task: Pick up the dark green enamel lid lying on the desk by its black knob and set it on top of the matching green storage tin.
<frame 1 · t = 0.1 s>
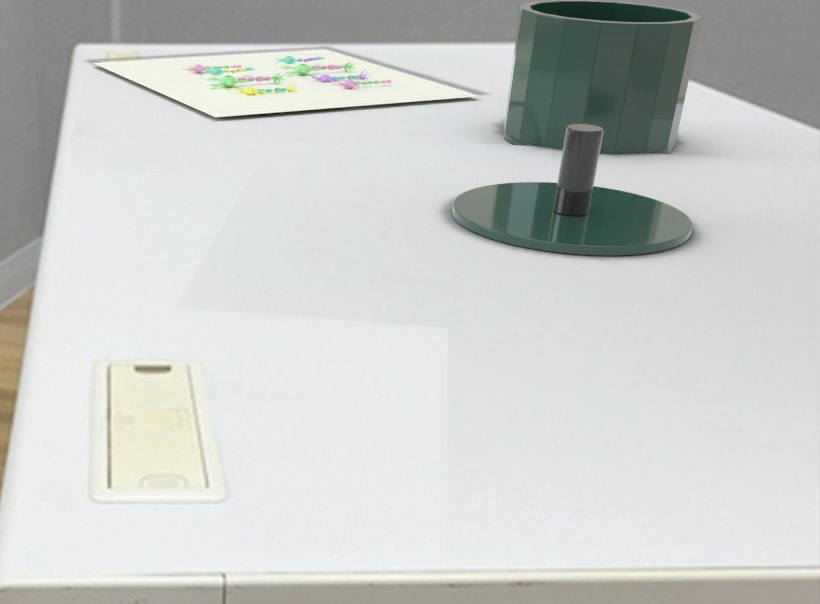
printed paper: (278, 84, 127), on the table
tin: (586, 141, 107), on the table
tin lid: (569, 220, 83), point 1 cm above the table
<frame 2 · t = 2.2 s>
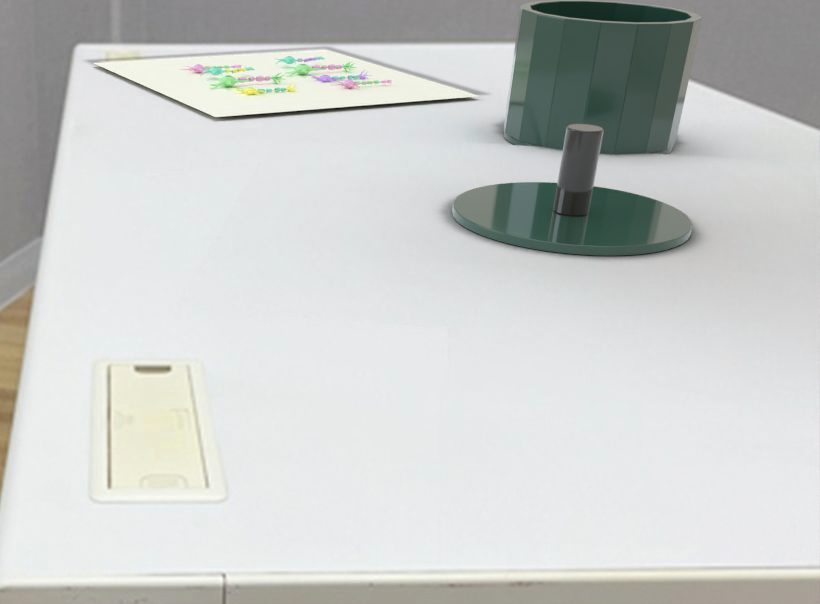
nothing on the table moved.
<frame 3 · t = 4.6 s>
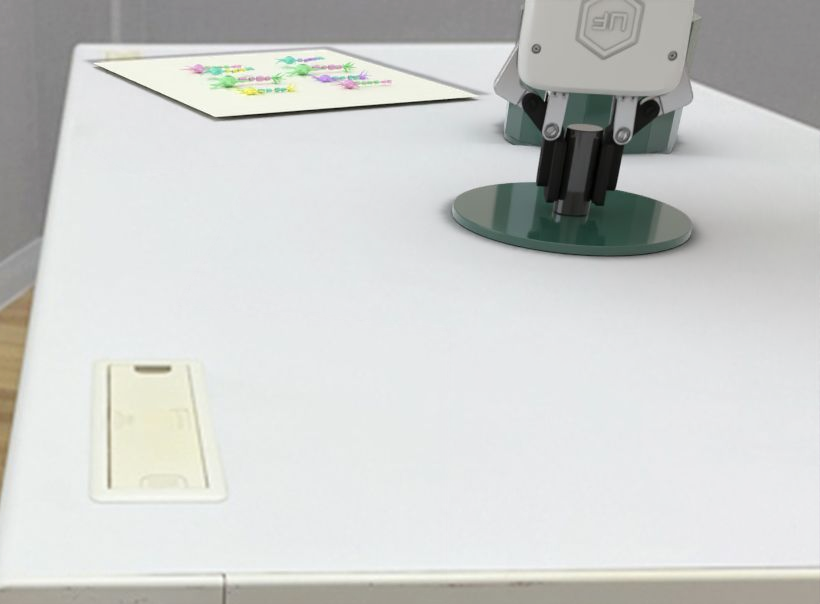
hand: (573, 197, 82), 2 cm above the table, tool pointing down, fingers closed on tin lid, 2 cm apart
tin lid: (569, 220, 83), point 1 cm above the table, touching gripper
everything else where it was.
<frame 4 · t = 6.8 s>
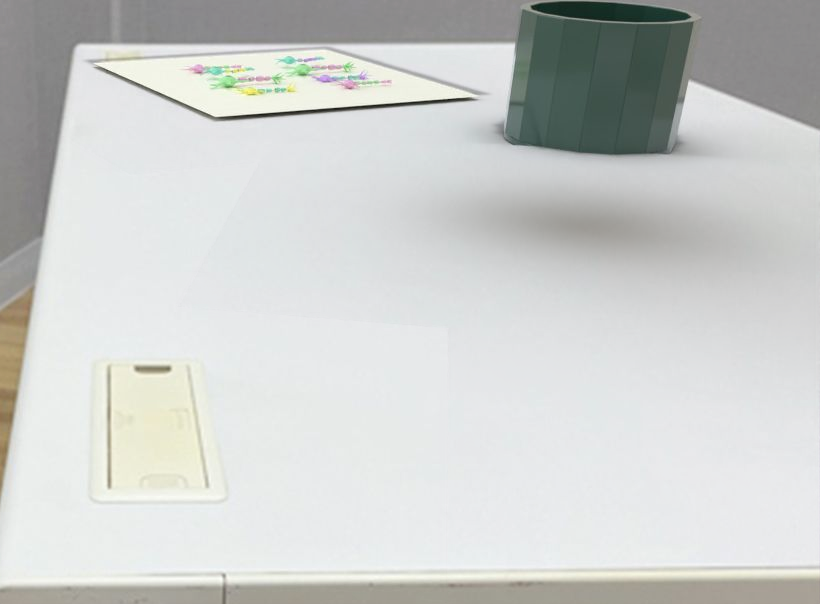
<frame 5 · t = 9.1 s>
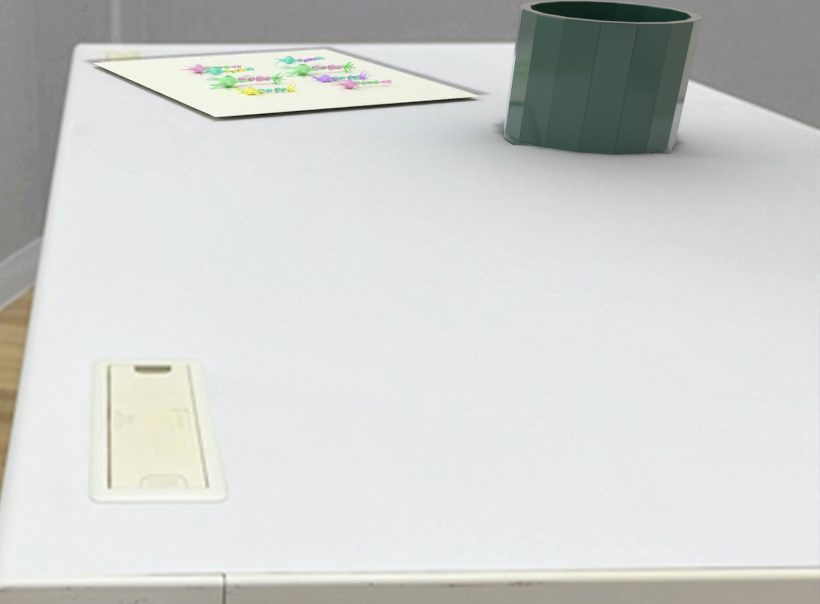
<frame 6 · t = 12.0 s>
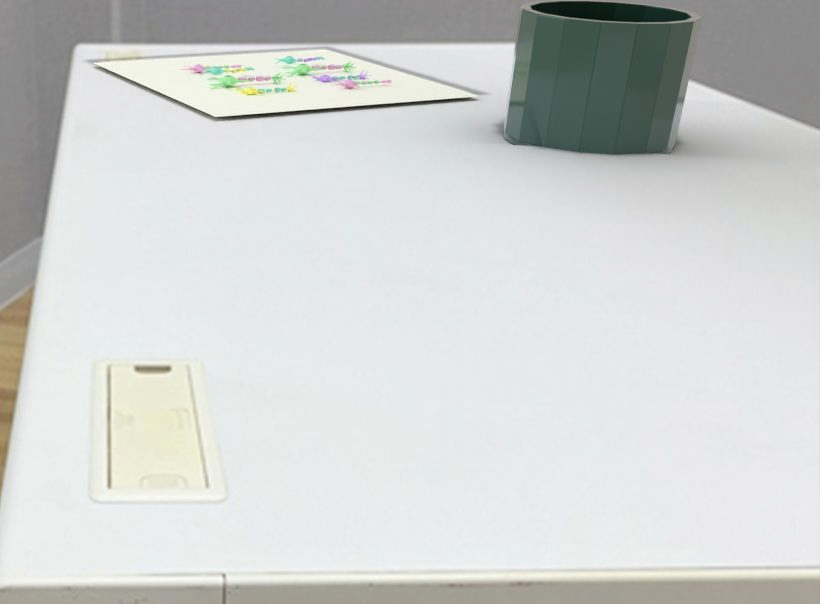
when the fingers open (12 cm above the table, at t = 13.7 s): tin lid stays where it is, resting on tin.
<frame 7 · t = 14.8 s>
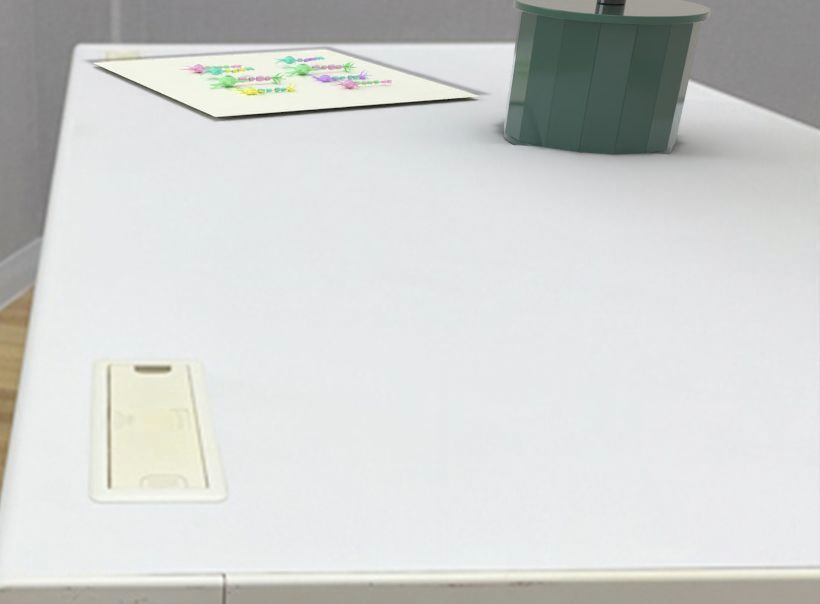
tin lid: (609, 11, 101), point 10 cm above the table, touching tin
everything else where it was.
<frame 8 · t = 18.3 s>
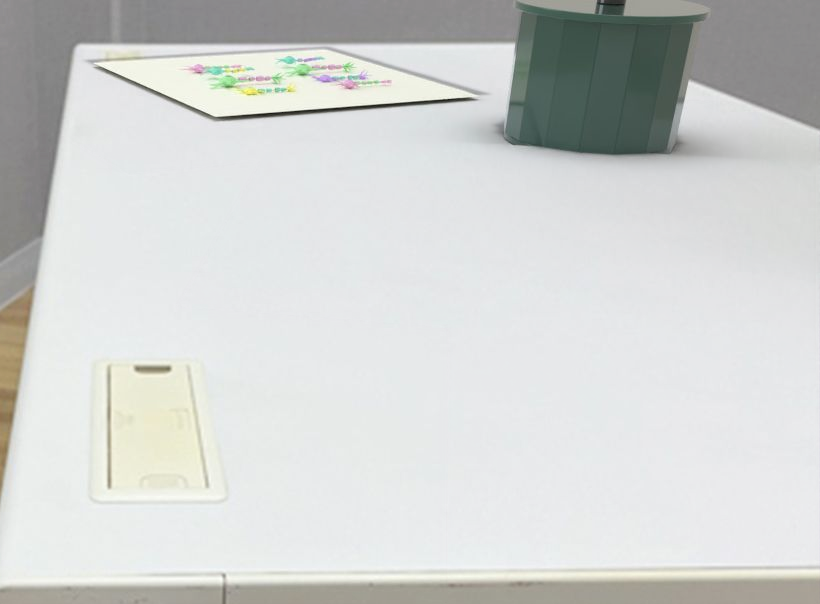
nothing on the table moved.
at the end: tin lid 0.0 cm off-centre on the tin, point 10.5 cm above the tin's base; tin lid tilted 0°; the gripper is holding nothing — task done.
